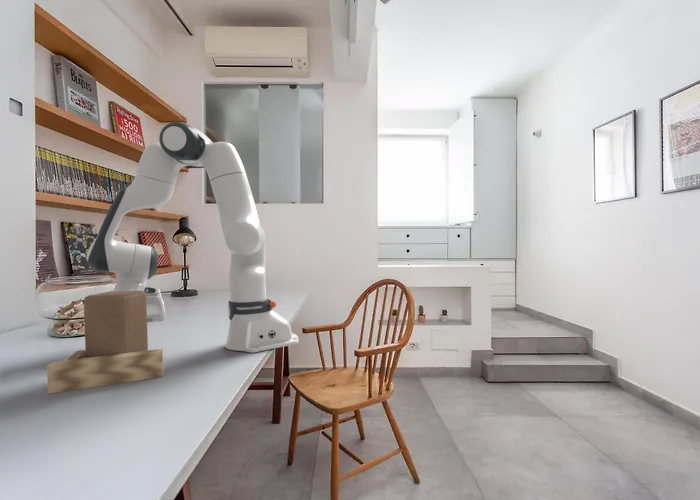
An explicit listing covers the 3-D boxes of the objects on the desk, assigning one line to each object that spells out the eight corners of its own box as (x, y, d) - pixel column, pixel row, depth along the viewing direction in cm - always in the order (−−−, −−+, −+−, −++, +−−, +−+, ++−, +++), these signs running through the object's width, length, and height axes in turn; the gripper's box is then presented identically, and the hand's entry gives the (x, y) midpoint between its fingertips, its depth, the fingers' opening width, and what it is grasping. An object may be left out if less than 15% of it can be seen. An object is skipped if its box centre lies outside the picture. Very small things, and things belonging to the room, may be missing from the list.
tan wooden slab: (165, 362, 96) (165, 340, 95) (162, 376, 86) (161, 352, 85) (65, 376, 87) (64, 352, 87) (48, 393, 77) (46, 366, 77)
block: (124, 378, 85) (121, 295, 84) (84, 378, 85) (81, 296, 85) (150, 364, 95) (147, 290, 94) (114, 364, 95) (111, 290, 95)
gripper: (87, 293, 105) (78, 333, 96) (165, 288, 113) (163, 325, 104) (92, 305, 109) (83, 345, 100) (166, 300, 117) (165, 336, 108)
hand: (125, 335), depth 102 cm, fingers closed
